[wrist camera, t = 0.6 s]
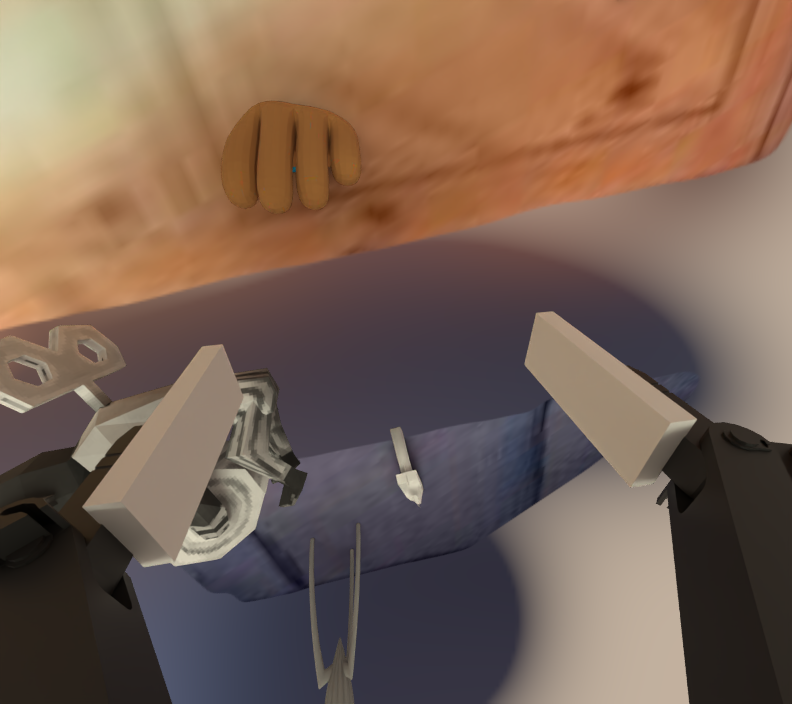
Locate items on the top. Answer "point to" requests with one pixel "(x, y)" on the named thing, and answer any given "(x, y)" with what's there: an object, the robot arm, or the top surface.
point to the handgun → (406, 469)
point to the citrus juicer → (341, 670)
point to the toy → (67, 468)
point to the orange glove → (288, 156)
